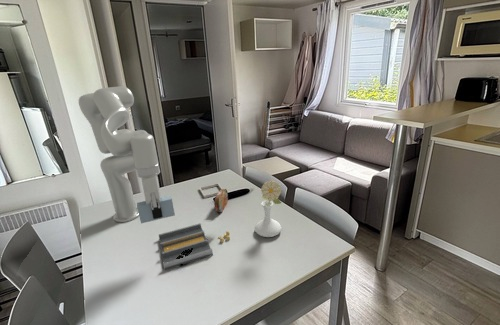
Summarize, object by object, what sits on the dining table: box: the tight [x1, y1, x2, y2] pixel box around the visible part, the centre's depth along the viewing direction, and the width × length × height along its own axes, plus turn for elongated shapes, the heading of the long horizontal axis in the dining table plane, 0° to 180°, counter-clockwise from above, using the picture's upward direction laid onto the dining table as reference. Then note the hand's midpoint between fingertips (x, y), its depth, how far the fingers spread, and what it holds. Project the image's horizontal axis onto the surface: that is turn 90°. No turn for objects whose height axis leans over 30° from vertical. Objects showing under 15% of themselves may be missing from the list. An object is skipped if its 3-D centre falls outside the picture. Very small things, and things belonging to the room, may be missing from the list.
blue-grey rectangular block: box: [136, 195, 176, 224], centre depth 98 cm, size 3×12×7 cm, turn 111°
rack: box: [158, 222, 214, 271], centre depth 107 cm, size 20×18×2 cm
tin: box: [213, 188, 229, 213], centre depth 134 cm, size 15×3×8 cm, turn 168°
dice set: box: [218, 230, 231, 244], centre depth 112 cm, size 5×5×2 cm
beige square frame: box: [198, 182, 224, 199], centre depth 153 cm, size 12×12×2 cm
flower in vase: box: [254, 179, 282, 238], centre depth 109 cm, size 13×11×25 cm
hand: (157, 214), depth 99 cm, fingers closed on blue-grey rectangular block, 3 cm apart
